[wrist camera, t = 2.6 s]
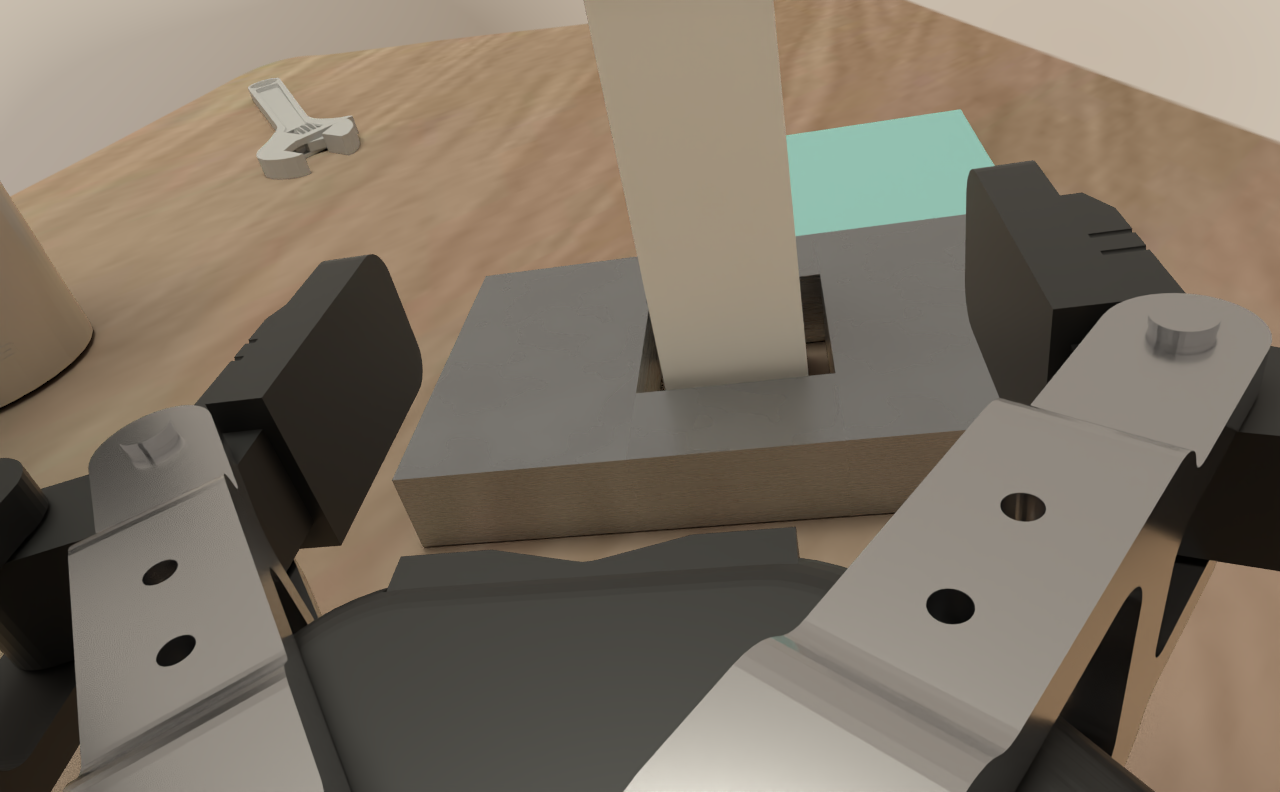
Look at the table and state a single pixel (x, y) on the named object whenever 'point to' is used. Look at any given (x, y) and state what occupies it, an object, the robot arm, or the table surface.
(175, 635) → the robot arm
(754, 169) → the post
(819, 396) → the socket plate
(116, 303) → the table surface
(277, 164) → the adjustable wrench
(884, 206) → the mat
